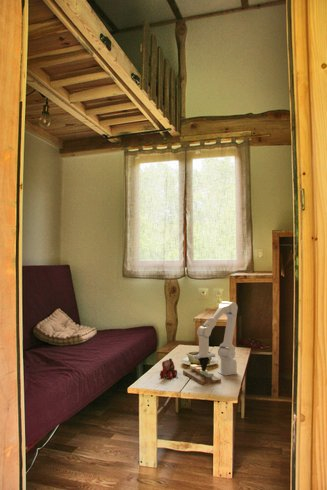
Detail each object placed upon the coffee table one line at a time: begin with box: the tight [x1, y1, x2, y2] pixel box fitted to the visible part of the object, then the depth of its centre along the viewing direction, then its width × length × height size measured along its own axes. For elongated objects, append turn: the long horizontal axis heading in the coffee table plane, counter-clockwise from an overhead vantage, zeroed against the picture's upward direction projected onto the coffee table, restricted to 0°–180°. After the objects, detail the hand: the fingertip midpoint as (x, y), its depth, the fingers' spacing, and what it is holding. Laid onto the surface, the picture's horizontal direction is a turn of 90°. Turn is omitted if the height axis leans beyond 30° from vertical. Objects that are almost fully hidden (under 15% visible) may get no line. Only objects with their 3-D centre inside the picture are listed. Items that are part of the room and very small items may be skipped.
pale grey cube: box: [204, 371, 214, 380], centre depth 228 cm, size 4×4×4 cm
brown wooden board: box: [182, 368, 222, 386], centre depth 236 cm, size 12×25×2 cm, turn 23°
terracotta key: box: [195, 366, 202, 374], centre depth 239 cm, size 4×4×4 cm
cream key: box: [189, 364, 200, 372], centre depth 245 cm, size 4×4×4 cm
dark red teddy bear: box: [159, 357, 178, 380], centre depth 238 cm, size 7×12×10 cm, turn 147°
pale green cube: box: [199, 369, 209, 377], centre depth 234 cm, size 4×4×4 cm
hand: (203, 370), depth 234 cm, fingers closed
